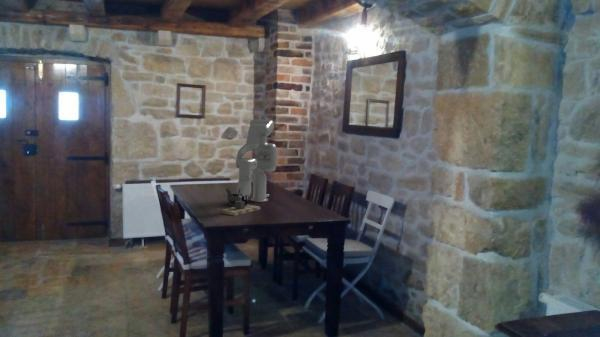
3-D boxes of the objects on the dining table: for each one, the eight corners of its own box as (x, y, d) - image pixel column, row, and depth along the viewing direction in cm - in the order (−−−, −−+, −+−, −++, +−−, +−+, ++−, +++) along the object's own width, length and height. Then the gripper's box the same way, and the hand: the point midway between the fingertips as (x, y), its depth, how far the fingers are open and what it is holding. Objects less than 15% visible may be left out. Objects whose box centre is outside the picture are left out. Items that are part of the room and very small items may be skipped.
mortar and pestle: (238, 203, 344) (238, 186, 343) (243, 205, 336) (243, 188, 335) (223, 204, 339) (223, 187, 338) (227, 206, 331) (228, 189, 329)
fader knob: (238, 207, 319) (239, 200, 318) (244, 208, 316) (244, 201, 316) (234, 207, 316) (235, 201, 315) (240, 208, 313) (241, 202, 312)
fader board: (246, 207, 331) (246, 204, 331) (260, 209, 325) (260, 206, 325) (220, 213, 310) (220, 209, 309) (235, 215, 303) (235, 212, 303)
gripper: (247, 176, 326) (246, 203, 328) (232, 178, 313) (232, 206, 315) (256, 177, 322) (255, 204, 324) (241, 179, 309) (241, 208, 311)
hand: (244, 205), depth 319 cm, fingers closed
